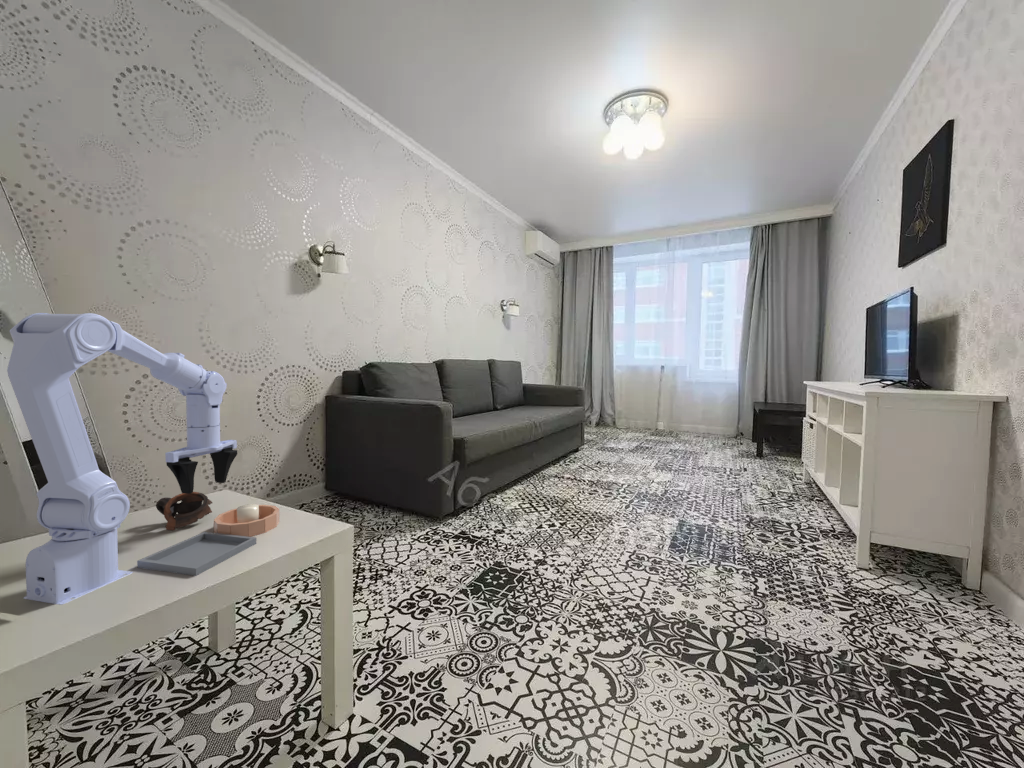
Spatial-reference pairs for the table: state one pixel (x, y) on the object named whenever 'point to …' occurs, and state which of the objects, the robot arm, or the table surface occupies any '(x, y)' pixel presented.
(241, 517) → the cream rounded cylinder
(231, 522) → the terracotta bowl
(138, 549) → the table surface
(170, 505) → the broken clay pot
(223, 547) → the parts tray
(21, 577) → the table surface
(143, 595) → the table surface
